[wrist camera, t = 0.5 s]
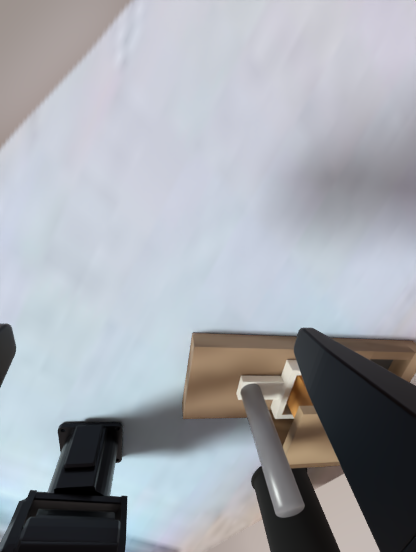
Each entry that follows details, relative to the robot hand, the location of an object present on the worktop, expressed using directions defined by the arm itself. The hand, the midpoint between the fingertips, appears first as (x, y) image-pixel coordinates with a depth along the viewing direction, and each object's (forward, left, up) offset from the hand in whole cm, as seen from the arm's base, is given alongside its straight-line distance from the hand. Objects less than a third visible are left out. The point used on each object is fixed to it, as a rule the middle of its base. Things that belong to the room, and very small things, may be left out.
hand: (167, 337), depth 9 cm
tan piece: (-15, -16, -14) cm, 26 cm away
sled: (-15, -14, -12) cm, 23 cm away
